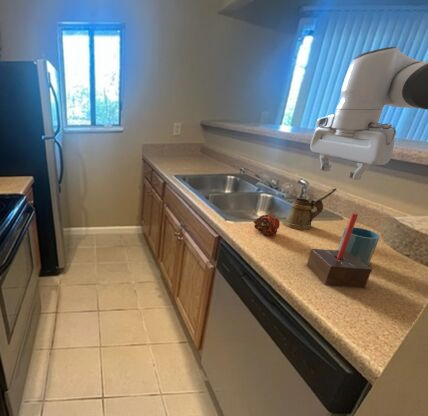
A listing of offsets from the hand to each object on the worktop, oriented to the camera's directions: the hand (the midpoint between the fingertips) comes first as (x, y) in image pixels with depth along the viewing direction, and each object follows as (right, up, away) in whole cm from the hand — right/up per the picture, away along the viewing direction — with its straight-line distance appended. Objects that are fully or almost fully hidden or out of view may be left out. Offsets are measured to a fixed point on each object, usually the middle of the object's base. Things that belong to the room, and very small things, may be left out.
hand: (338, 174), depth 74 cm
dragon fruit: (+1, -19, +35) cm, 40 cm away
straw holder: (+5, -29, +7) cm, 31 cm away
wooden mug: (+19, -17, +39) cm, 47 cm away
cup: (+17, -26, +15) cm, 35 cm away
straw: (+5, -29, +7) cm, 31 cm away
